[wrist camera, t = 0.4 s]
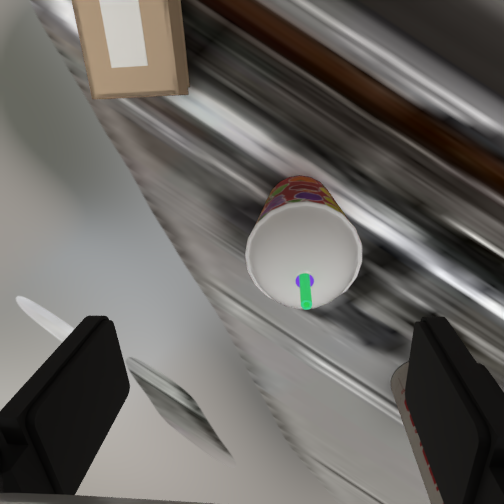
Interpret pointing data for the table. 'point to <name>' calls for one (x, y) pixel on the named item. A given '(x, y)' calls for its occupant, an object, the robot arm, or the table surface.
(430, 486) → the thermos bottle
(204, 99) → the table surface
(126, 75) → the lid
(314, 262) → the smoothie
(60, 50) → the table surface
